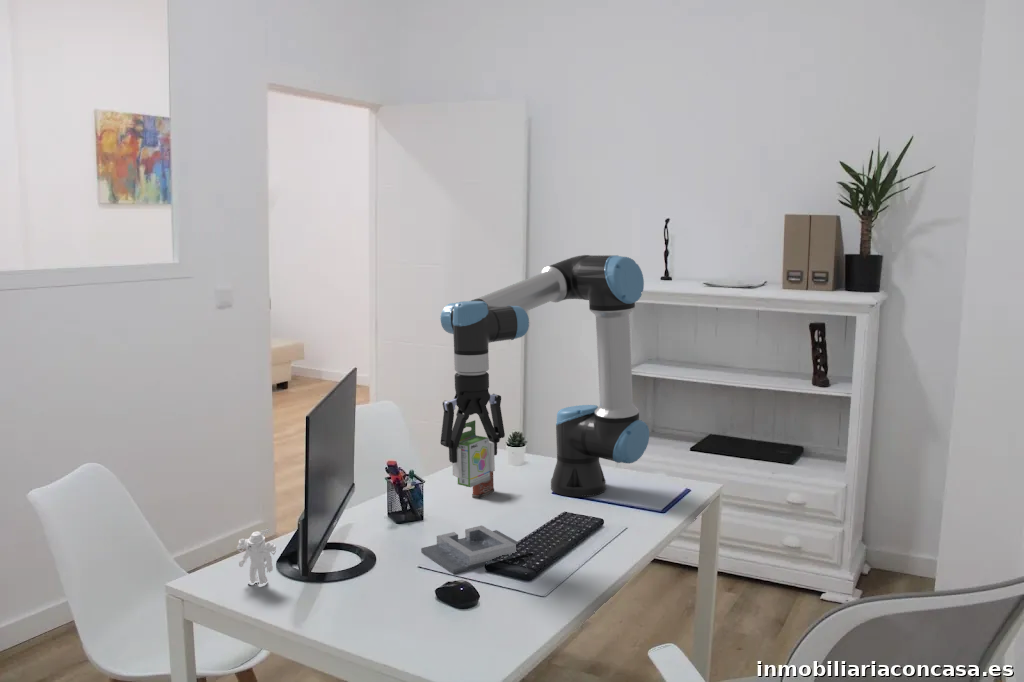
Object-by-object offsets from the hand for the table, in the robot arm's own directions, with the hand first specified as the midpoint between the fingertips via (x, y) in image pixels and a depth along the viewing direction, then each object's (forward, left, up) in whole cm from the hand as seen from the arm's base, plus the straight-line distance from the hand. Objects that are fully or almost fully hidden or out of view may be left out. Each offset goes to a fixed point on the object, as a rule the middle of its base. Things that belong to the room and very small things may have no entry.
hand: (473, 472), depth 197 cm
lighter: (-23, -35, -19) cm, 46 cm away
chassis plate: (0, 0, -19) cm, 19 cm away
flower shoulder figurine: (+46, -11, -19) cm, 51 cm away
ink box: (0, 0, -2) cm, 2 cm away
